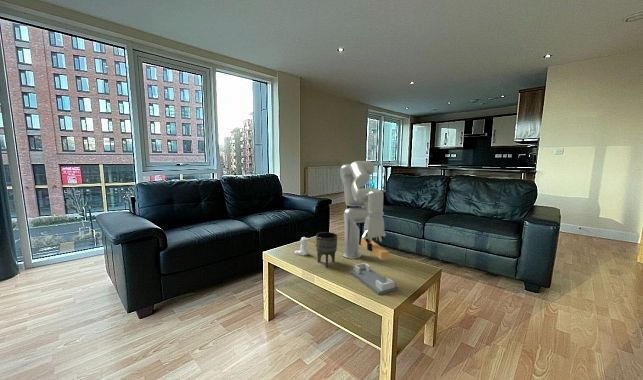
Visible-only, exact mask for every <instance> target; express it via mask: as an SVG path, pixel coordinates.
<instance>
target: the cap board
mask: <svg viewBox="0 0 643 380" xmlns="http://www.w3.org/2000/svg"><path fill="white" fill-rule="evenodd" d="M349 273H350V275H352V276H353V277H354V278H355V279H356V280H358V281H359V282H361V283H362V284H363V285H365V286H366V287H367V288H369V289H370V290H371V291H372V292H374V293H375V294H377V295H378V296H379V295H383V293H384V294H386V293H390V291H391V292H394V290H395V291H398V290H399V286H398V285H396V281H394V280H392V279H391V278H390V277H386V278H385V277H384V276H383V275H381V274H380V273H378V272H376V271H375V270H373V269H371V265H369V264H368V263H366V262H362V263H357V264H354V265H353V269H352V270H350V271H349ZM397 289H398V290H397Z"/></svg>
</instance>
